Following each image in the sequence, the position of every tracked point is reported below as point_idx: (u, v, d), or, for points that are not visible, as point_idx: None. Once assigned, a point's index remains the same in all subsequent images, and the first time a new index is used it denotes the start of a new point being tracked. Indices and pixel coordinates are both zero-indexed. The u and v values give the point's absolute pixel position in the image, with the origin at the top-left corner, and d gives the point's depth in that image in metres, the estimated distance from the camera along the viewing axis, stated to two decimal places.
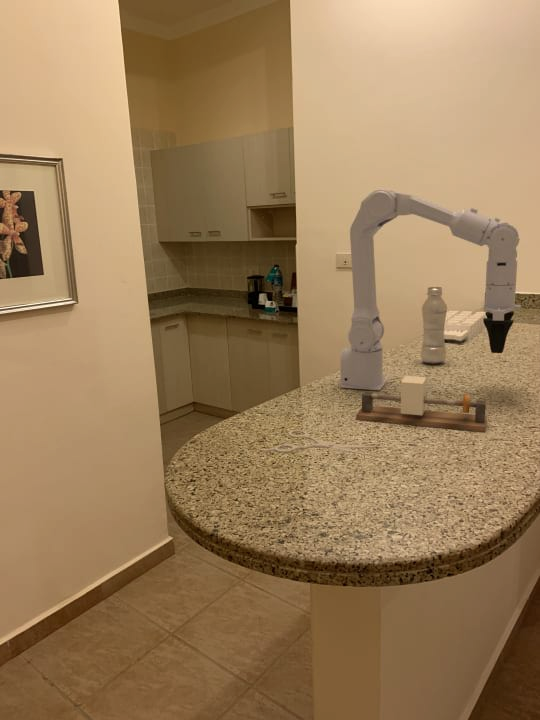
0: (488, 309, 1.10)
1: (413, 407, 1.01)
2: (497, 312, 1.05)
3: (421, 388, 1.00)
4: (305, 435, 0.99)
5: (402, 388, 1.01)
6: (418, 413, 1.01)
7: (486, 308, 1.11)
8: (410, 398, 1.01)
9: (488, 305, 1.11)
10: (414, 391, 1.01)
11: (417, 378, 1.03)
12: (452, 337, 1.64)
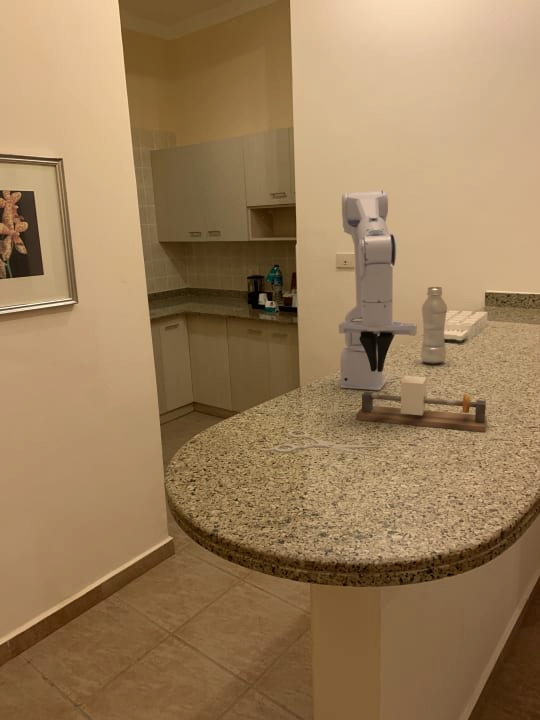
0: None
1: (413, 407, 1.01)
2: None
3: (421, 388, 1.00)
4: (305, 435, 0.99)
5: (402, 388, 1.01)
6: (418, 413, 1.01)
7: None
8: (410, 398, 1.01)
9: None
10: (414, 391, 1.01)
11: (417, 378, 1.03)
12: (452, 337, 1.65)
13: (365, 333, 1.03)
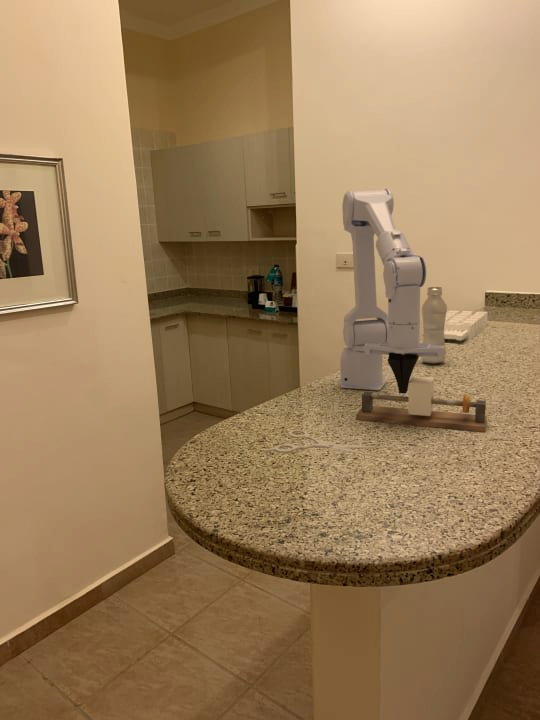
0: None
1: (421, 408, 1.01)
2: None
3: (429, 389, 0.99)
4: (305, 435, 0.99)
5: (410, 389, 1.01)
6: (426, 414, 1.01)
7: None
8: (418, 399, 1.01)
9: None
10: (422, 392, 1.00)
11: (425, 378, 1.03)
12: (452, 337, 1.65)
13: (391, 354, 1.02)
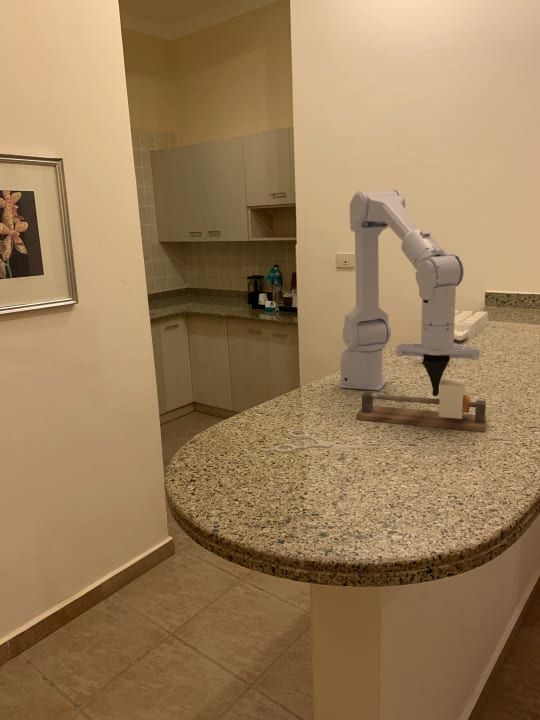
0: None
1: (452, 410, 0.99)
2: None
3: (461, 391, 0.97)
4: (305, 435, 0.99)
5: (441, 391, 0.99)
6: (457, 416, 0.99)
7: None
8: (449, 401, 0.99)
9: None
10: (454, 394, 0.98)
11: (456, 380, 1.00)
12: None
13: (424, 356, 1.00)
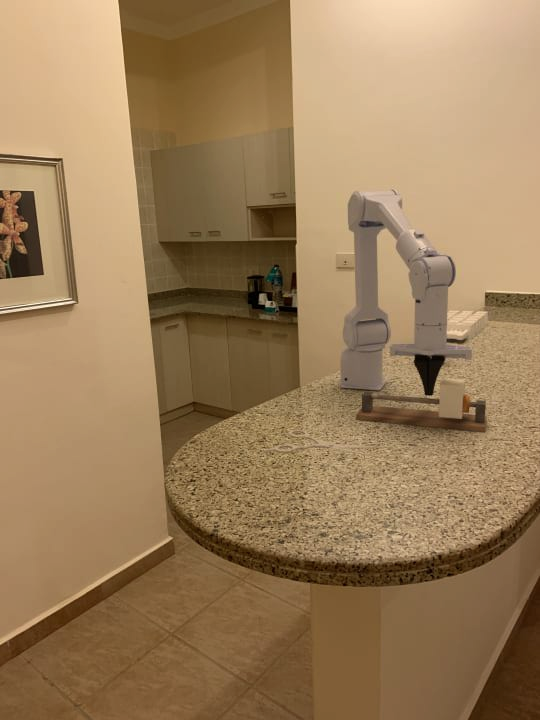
0: None
1: (452, 410, 0.99)
2: (390, 346, 1.03)
3: (461, 391, 0.97)
4: (305, 435, 0.99)
5: (441, 391, 0.99)
6: (457, 416, 0.99)
7: None
8: (449, 401, 0.99)
9: None
10: (454, 394, 0.98)
11: (456, 380, 1.00)
12: (453, 336, 1.65)
13: (418, 356, 1.00)
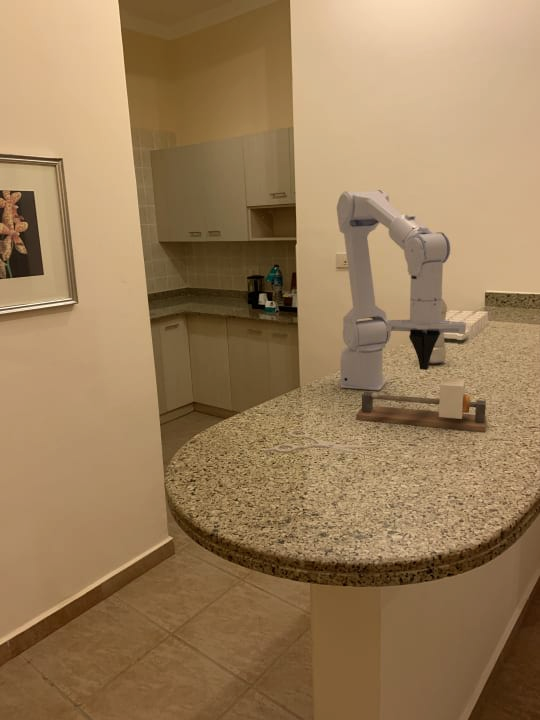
0: None
1: (452, 410, 0.99)
2: (387, 322, 1.06)
3: (461, 391, 0.97)
4: (305, 435, 0.99)
5: (441, 391, 0.99)
6: (457, 416, 0.99)
7: None
8: (449, 401, 0.99)
9: None
10: (454, 394, 0.98)
11: (456, 380, 1.00)
12: (453, 336, 1.65)
13: (413, 331, 1.03)
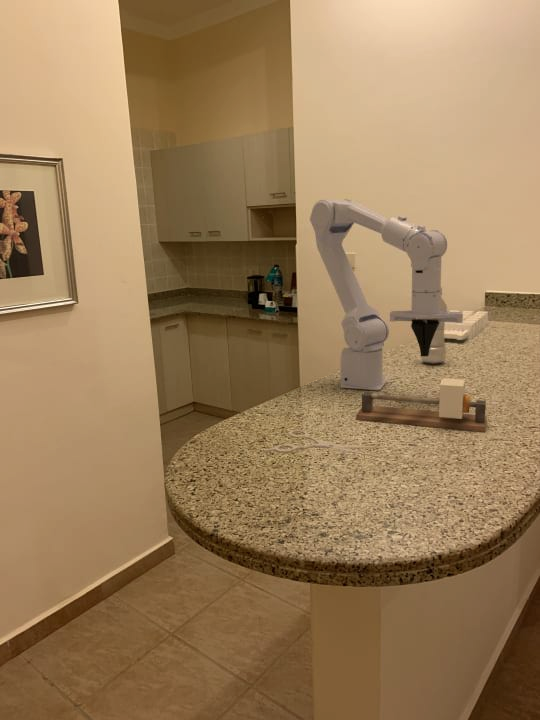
0: None
1: (452, 410, 0.99)
2: None
3: (461, 391, 0.97)
4: (305, 435, 0.99)
5: (441, 391, 0.99)
6: (457, 416, 0.99)
7: None
8: (449, 401, 0.99)
9: None
10: (454, 394, 0.98)
11: (456, 380, 1.00)
12: (453, 336, 1.65)
13: (414, 321, 1.13)
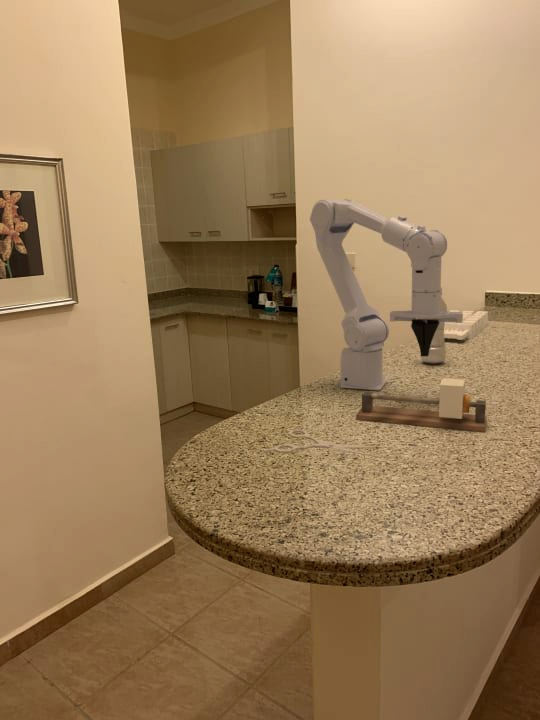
0: None
1: (452, 410, 0.99)
2: None
3: (461, 391, 0.97)
4: (305, 435, 0.99)
5: (441, 391, 0.99)
6: (457, 416, 0.99)
7: None
8: (449, 401, 0.99)
9: None
10: (454, 394, 0.98)
11: (456, 380, 1.00)
12: (453, 336, 1.65)
13: (414, 321, 1.13)
